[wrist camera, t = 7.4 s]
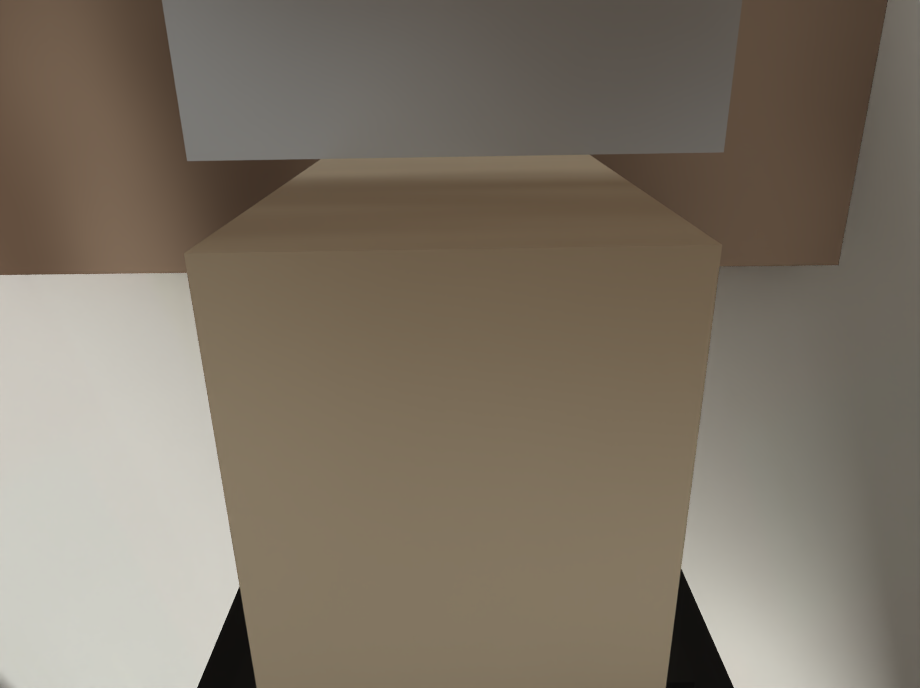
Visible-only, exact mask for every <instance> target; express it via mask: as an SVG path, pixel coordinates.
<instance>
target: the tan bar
mask: <svg viewBox="0 0 920 688" xmlns="http://www.w3.org/2000/svg"><path fill="white" fill-rule="evenodd" d="M162 4H163V11H164V17H165V23H166V30H167V36H168V42H169V49H170V55H171V61H172V68H173V74H174V80H175V87H176V93H177V99H178V106H179V112H180V118H181V125H182V131H183V138H184V144H185V150H186V157H187V161H224V160H286V159H320V160H319V161H317V162H316V163H314V164H313V165H312V166H310V167H309V168H307V169H306V170H304V171H303V172H301V173H300V174H299V175H297V176H296V177H294V178H293V179H291V180H290V181H288V182H287V183H285V184H284V185H283V186H281V187H280V188H278V189H277V190H275V191H274V192H272V193H271V194H270V195H268V196H267V197H265V198H264V199H262V200H261V201H259V202H258V203H256V204H255V205H254V206H252V207H251V208H249V209H248V210H246V211H245V212H243V213H242V214H240V215H239V216H238V217H236V218H235V219H233V220H232V221H230V222H229V223H227V224H226V225H225V226H223V227H222V228H220V229H219V230H217V231H216V232H214V233H213V234H211V235H210V236H209V237H207V238H206V239H204V240H203V241H201V242H200V243H198V244H197V245H195V246H194V247H193V248H191V249H190V250H188V251H187V252H185V253H184V257H185V263H186V269H187V275H188V281H189V287H190V293H191V299H192V305H193V311H194V317H195V323H196V329H197V335H198V341H199V347H200V353H201V359H202V365H203V371H204V376H205V382H206V388H207V394H208V400H209V406H210V412H211V418H212V424H213V430H214V436H215V442H216V448H217V454H218V460H219V466H220V472H221V478H222V484H223V490H224V496H225V502H226V508H227V514H228V520H229V526H230V532H231V538H232V544H233V550H234V556H235V562H236V567H237V573H238V579H239V585H240V591H241V597H242V603H243V609H244V615H245V621H246V627H247V633H248V639H249V645H250V651H251V657H252V663H253V669H254V675H255V681H256V687H257V688H666V681H667V673H668V666H669V658H670V650H671V642H672V634H673V627H674V619H675V611H676V603H677V595H678V587H679V580H680V572H681V564H682V556H683V548H684V540H685V533H686V525H687V517H688V509H689V501H690V494H691V486H692V478H693V470H694V462H695V454H696V447H697V439H698V431H699V423H700V415H701V407H702V400H703V392H704V384H705V376H706V368H707V361H708V353H709V345H710V337H711V329H712V321H713V314H714V306H715V298H716V290H717V282H718V274H719V267H720V259H721V251H722V244H720V243H719V242H717V241H716V240H714V239H713V238H711V237H710V236H708V235H707V234H705V233H704V232H703V231H701V230H700V229H698V228H697V227H695V226H694V225H692V224H691V223H689V222H688V221H686V220H685V219H683V218H682V217H680V216H679V215H678V214H676V213H675V212H673V211H672V210H670V209H669V208H667V207H666V206H664V205H663V204H661V203H660V202H658V201H657V200H655V199H654V198H653V197H651V196H650V195H648V194H647V193H645V192H644V191H642V190H641V189H639V188H638V187H636V186H635V185H633V184H632V183H630V182H629V181H628V180H626V179H625V178H623V177H622V176H620V175H619V174H617V173H616V172H614V171H613V170H611V169H610V168H608V167H607V166H605V165H604V164H603V163H601V162H600V161H598V160H597V159H595V158H594V157H592V156H591V155H594V154H655V153H717V152H724V146H725V138H726V130H727V121H728V113H729V105H730V97H731V89H732V81H733V72H734V64H735V56H736V48H737V40H738V32H739V23H740V15H741V7H742V0H162Z"/></svg>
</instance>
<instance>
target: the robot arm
mask: <svg viewBox="0 0 920 688" xmlns="http://www.w3.org/2000/svg"><path fill="white" fill-rule="evenodd" d="M197 688H257V687H256V681H255V675H254V669H253V663H252V657H251V651H250V645H249V639H248V633H247V627H246V621H245V615H244V609H243V603H242V597H241V591H240V587H239V589H238V591H237V594H236V596H235V599H234V601H233V603H232V606H231V608H230V611H229V613H228V615H227V618H226V620H225V623H224V625H223V627H222V630H221V632H220V635H219V637H218V639H217V642H216V644H215V647H214V649H213V651H212V654H211V656H210V659H209V661H208V663H207V666H206V668H205V671H204V673H203V675H202V678H201V680H200V682H199V685H198V687H197ZM666 688H734V687H733V685H732V683H731V680H730V678H729V676H728V674H727V671H726V669H725V667H724V665H723V662H722V660H721V658H720V655H719V653H718V651H717V649H716V646H715V644H714V642H713V640H712V637H711V635H710V633H709V631H708V628H707V626H706V624H705V622H704V619H703V617H702V615H701V613H700V610H699V608H698V606H697V603H696V601H695V599H694V597H693V594H692V592H691V590H690V588H689V585H688V583H687V581H686V579H685V576H684V574H683V572H682V570H681V572H680V580H679V587H678V595H677V603H676V611H675V619H674V627H673V634H672V642H671V650H670V658H669V666H668V673H667V681H666Z"/></svg>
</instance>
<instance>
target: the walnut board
mask: <svg viewBox="0 0 920 688" xmlns="http://www.w3.org/2000/svg"><path fill="white" fill-rule="evenodd" d="M887 2H888V0H742V7H741V15H740V23H739V32H738V40H737V48H736V56H735V64H734V72H733V81H732V89H731V97H730V105H729V113H728V121H727V130H726V138H725V146H724V152H717V153H655V154H594V155H591V156H592V157H594V158H595V159H597V160H598V161H600V162H601V163H603V164H604V165H605V166H607V167H608V168H610V169H611V170H613V171H614V172H616V173H617V174H619V175H620V176H622V177H623V178H625V179H626V180H628V181H629V182H630V183H632V184H633V185H635V186H636V187H638V188H639V189H641V190H642V191H644V192H645V193H647V194H648V195H650V196H651V197H653V198H654V199H655V200H657V201H658V202H660V203H661V204H663V205H664V206H666V207H667V208H669V209H670V210H672V211H673V212H675V213H676V214H678V215H679V216H680V217H682V218H683V219H685V220H686V221H688V222H689V223H691V224H692V225H694V226H695V227H697V228H698V229H700V230H701V231H703V232H704V233H705V234H707V235H708V236H710V237H711V238H713V239H714V240H716V241H717V242H719V243H720V244H722V251H721V259H720V266H799V265H838V264H839V259H840V254H841V248H842V243H843V238H844V232H845V227H846V222H847V216H848V211H849V206H850V200H851V195H852V189H853V184H854V179H855V173H856V168H857V163H858V157H859V152H860V147H861V141H862V136H863V131H864V125H865V120H866V114H867V109H868V104H869V98H870V93H871V88H872V82H873V77H874V72H875V66H876V61H877V56H878V50H879V45H880V40H881V34H882V29H883V23H884V18H885V13H886V7H887ZM319 160H320V159H286V160H224V161H187V157H186V150H185V144H184V138H183V131H182V125H181V118H180V112H179V106H178V99H177V93H176V87H175V80H174V74H173V68H172V61H171V55H170V49H169V42H168V36H167V30H166V23H165V17H164V11H163V4H162V0H0V275H30V274H115V273H187V269H186V263H185V257H184V253H185V252H187V251H188V250H190V249H191V248H193V247H194V246H195V245H197V244H198V243H200V242H201V241H203V240H204V239H206V238H207V237H209V236H210V235H211V234H213V233H214V232H216V231H217V230H219V229H220V228H222V227H223V226H225V225H226V224H227V223H229V222H230V221H232V220H233V219H235V218H236V217H238V216H239V215H240V214H242V213H243V212H245V211H246V210H248V209H249V208H251V207H252V206H254V205H255V204H256V203H258V202H259V201H261V200H262V199H264V198H265V197H267V196H268V195H270V194H271V193H272V192H274V191H275V190H277V189H278V188H280V187H281V186H283V185H284V184H285V183H287V182H288V181H290V180H291V179H293V178H294V177H296V176H297V175H299V174H300V173H301V172H303V171H304V170H306V169H307V168H309V167H310V166H312V165H313V164H314V163H316V162H317V161H319Z"/></svg>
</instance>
